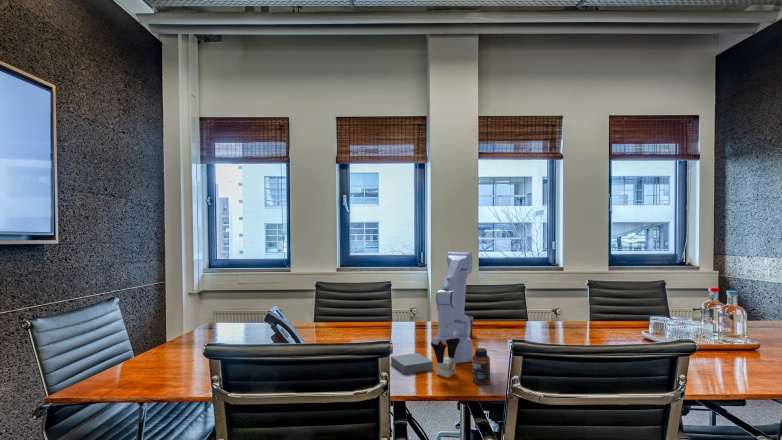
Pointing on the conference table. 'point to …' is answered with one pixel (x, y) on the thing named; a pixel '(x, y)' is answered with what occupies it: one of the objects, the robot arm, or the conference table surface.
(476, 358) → the supplement bottle
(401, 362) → the blue-gray box
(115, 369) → the conference table surface
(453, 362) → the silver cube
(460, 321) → the food container
